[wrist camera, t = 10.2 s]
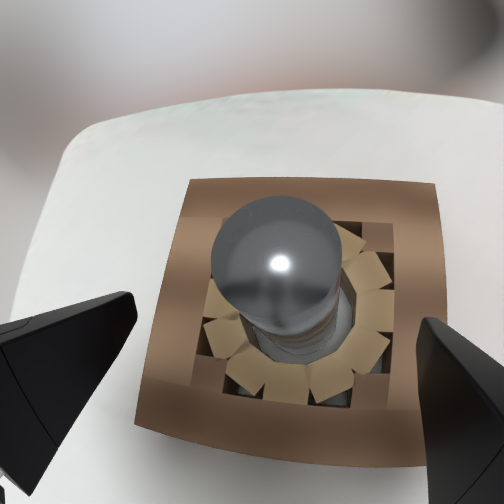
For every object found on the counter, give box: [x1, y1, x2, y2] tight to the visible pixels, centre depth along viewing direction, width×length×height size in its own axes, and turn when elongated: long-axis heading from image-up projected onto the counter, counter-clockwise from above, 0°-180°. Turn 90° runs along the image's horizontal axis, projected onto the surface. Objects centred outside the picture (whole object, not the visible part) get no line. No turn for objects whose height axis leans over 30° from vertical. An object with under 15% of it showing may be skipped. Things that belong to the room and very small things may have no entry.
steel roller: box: [211, 196, 342, 355], centre depth 15 cm, size 4×4×10 cm
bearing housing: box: [134, 177, 447, 467], centre depth 18 cm, size 16×16×3 cm
